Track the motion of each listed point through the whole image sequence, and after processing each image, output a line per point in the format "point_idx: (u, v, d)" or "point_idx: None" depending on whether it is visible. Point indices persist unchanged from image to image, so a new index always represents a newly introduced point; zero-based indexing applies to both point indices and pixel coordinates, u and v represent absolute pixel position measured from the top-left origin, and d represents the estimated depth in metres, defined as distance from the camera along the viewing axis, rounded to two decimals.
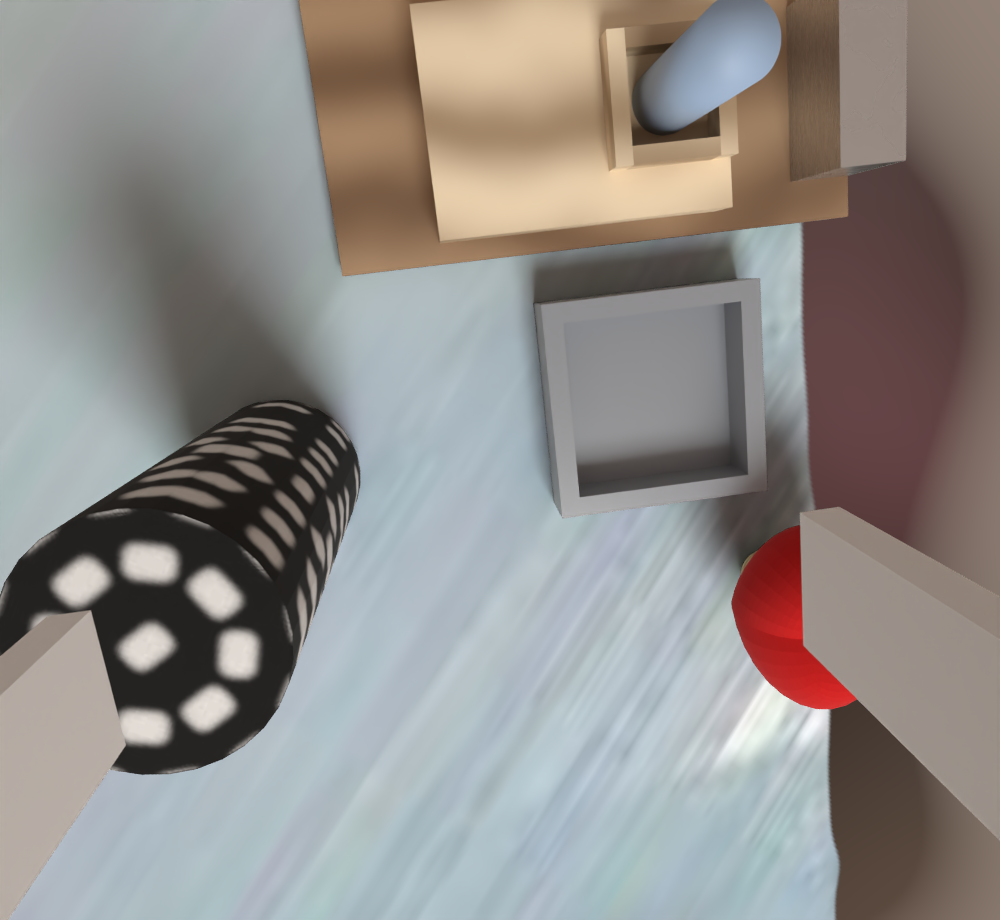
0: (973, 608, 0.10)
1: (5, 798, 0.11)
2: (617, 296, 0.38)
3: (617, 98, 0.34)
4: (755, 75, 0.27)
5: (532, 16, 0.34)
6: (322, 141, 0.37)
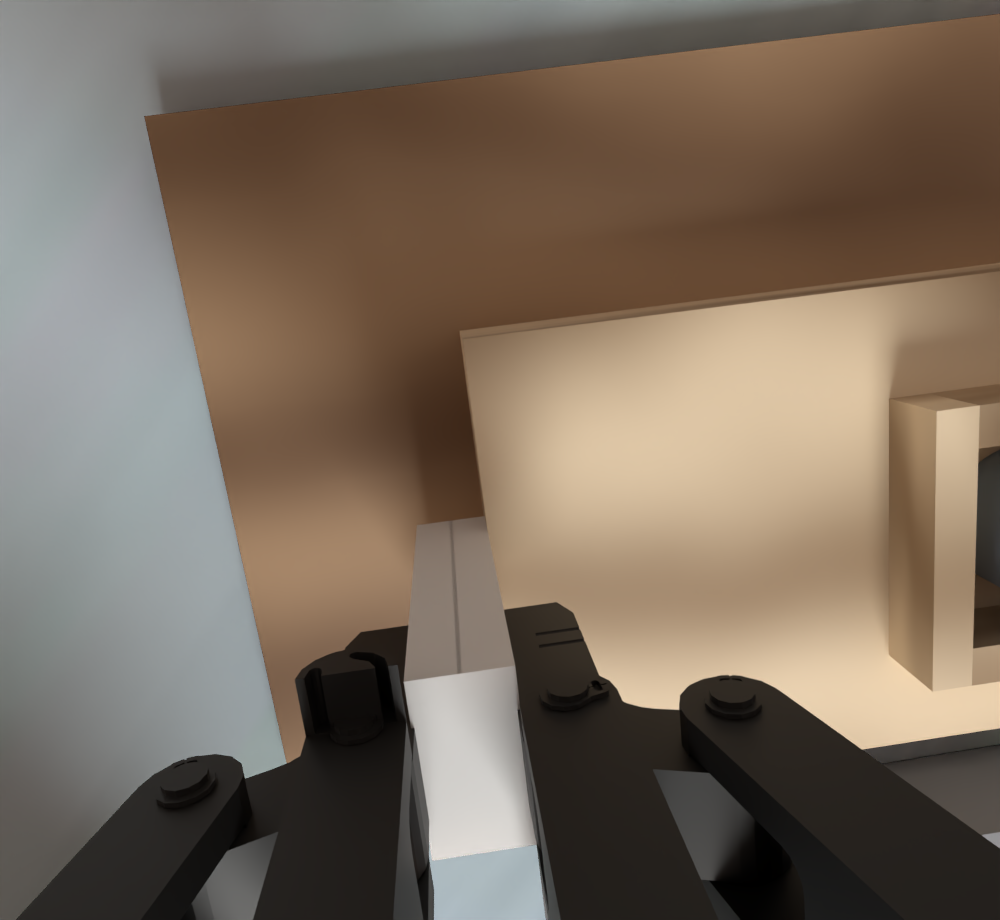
0: (468, 604, 0.12)
1: None
2: None
3: (950, 554, 0.14)
4: None
5: (745, 355, 0.15)
6: (246, 570, 0.18)
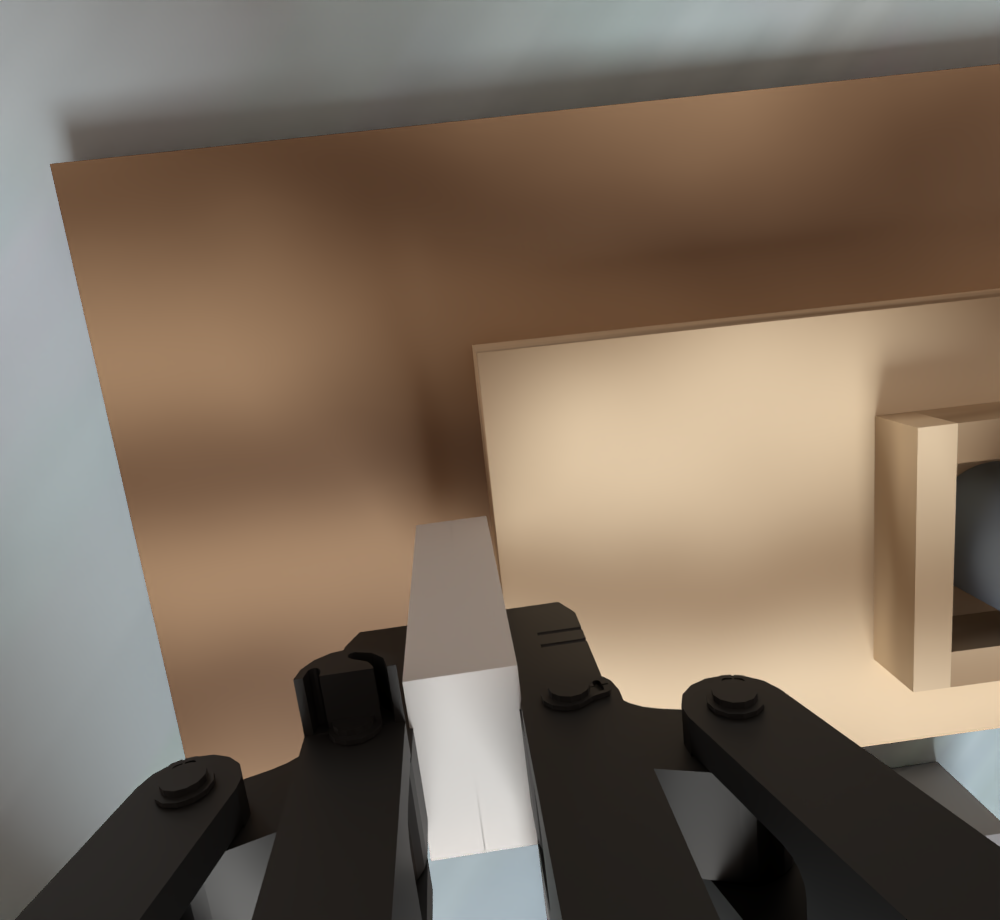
0: (470, 603, 0.12)
1: None
2: None
3: (930, 563, 0.15)
4: None
5: (740, 373, 0.16)
6: (149, 592, 0.18)
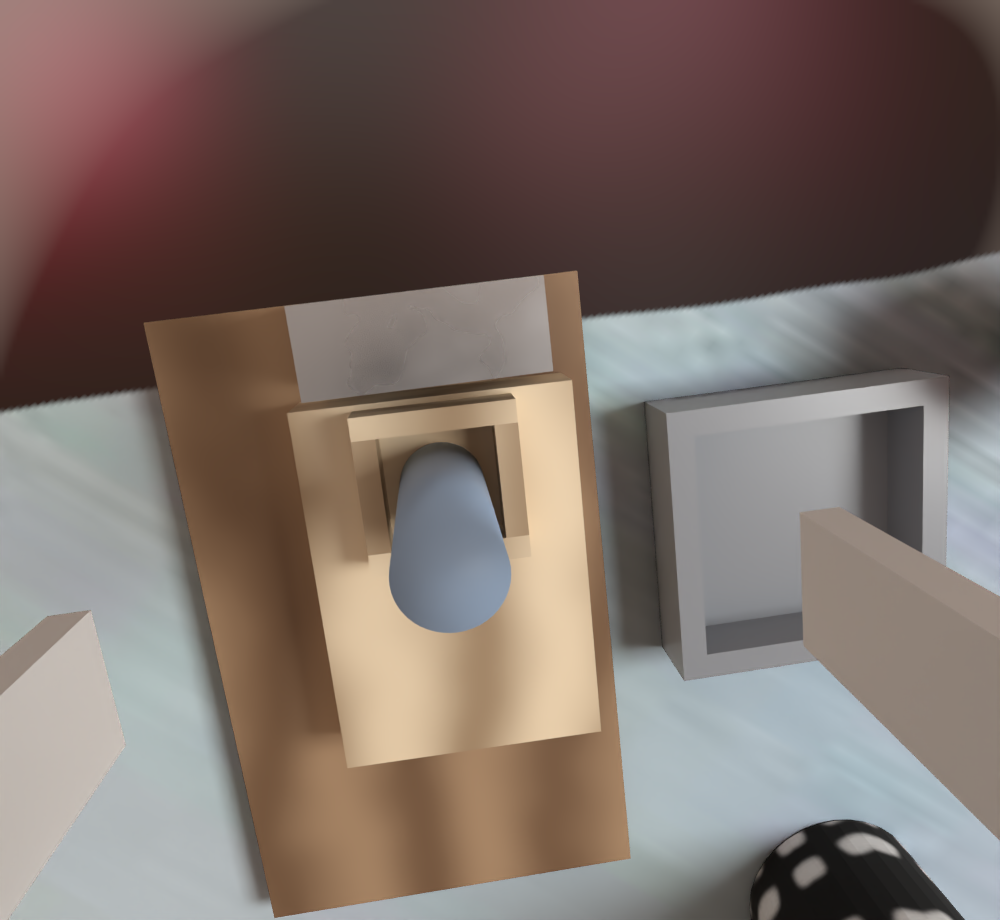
0: (973, 608, 0.10)
1: (5, 798, 0.11)
2: (679, 592, 0.30)
3: None
4: (495, 549, 0.19)
5: (352, 638, 0.29)
6: (492, 880, 0.34)
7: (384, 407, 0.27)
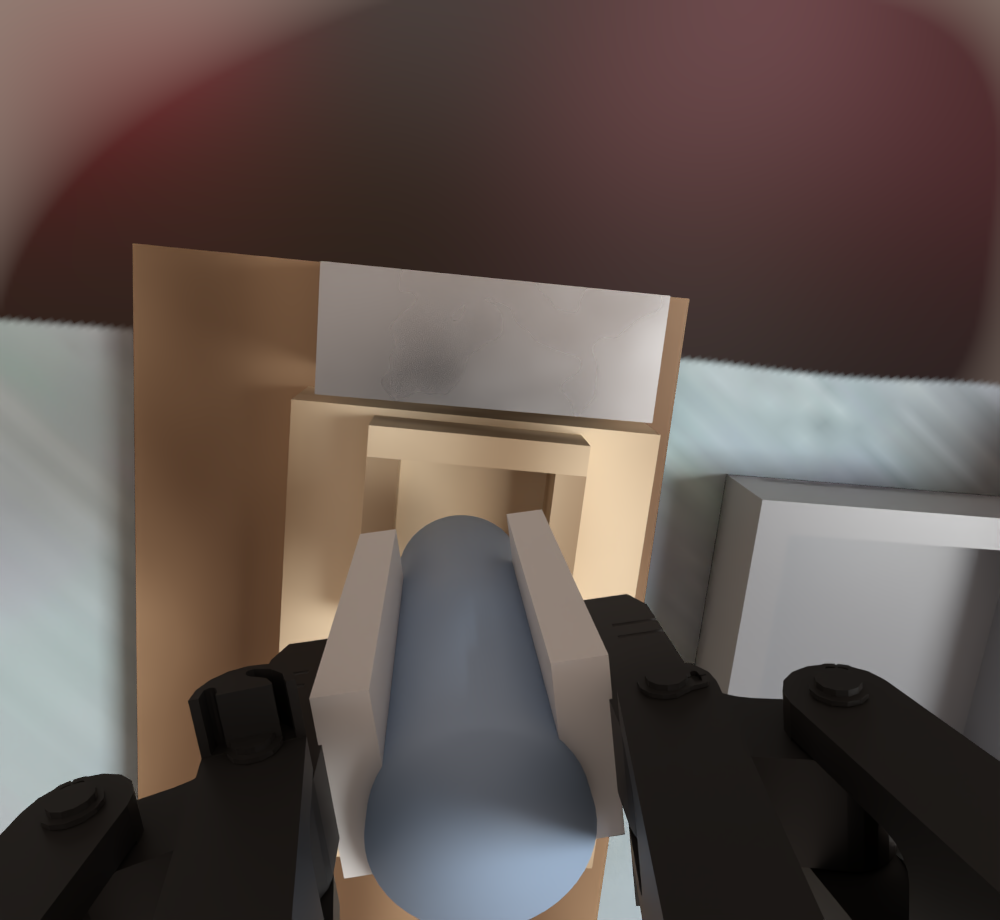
0: (546, 594, 0.12)
1: None
2: None
3: None
4: (569, 788, 0.10)
5: None
6: None
7: (417, 418, 0.21)
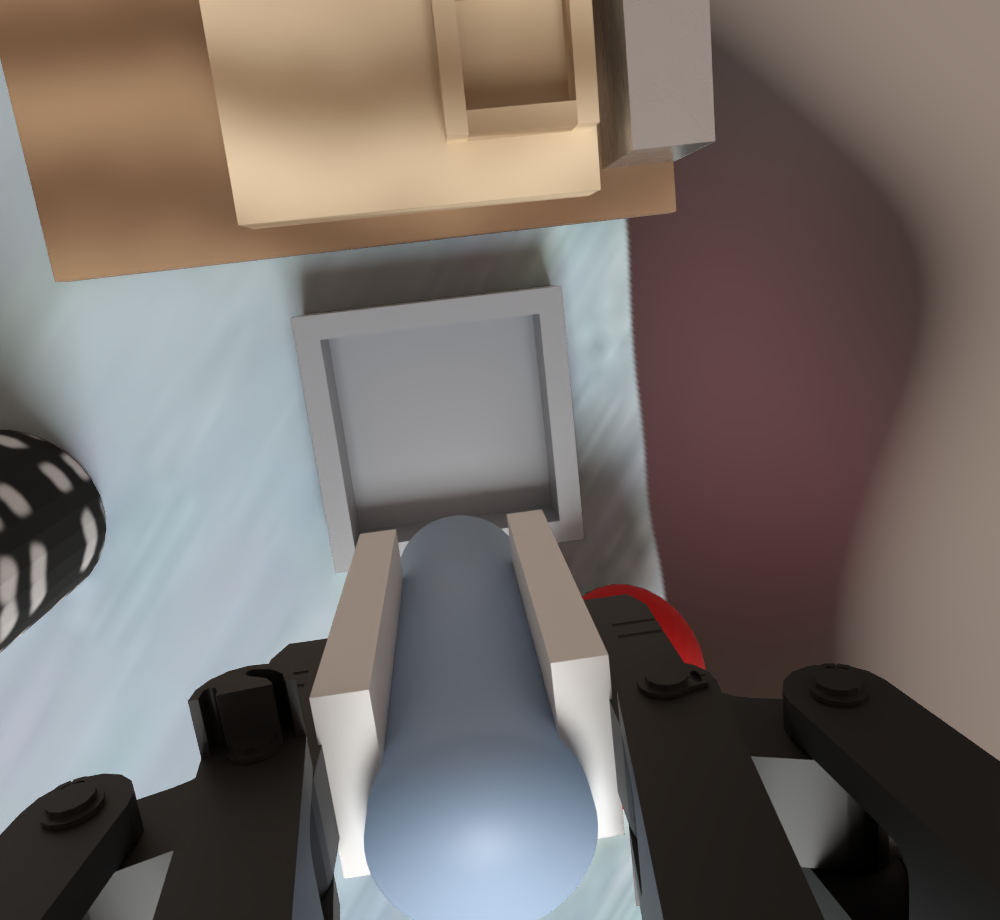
0: (546, 594, 0.12)
1: None
2: (385, 307, 0.31)
3: (445, 49, 0.27)
4: (571, 793, 0.10)
5: None
6: (16, 117, 0.30)
7: None
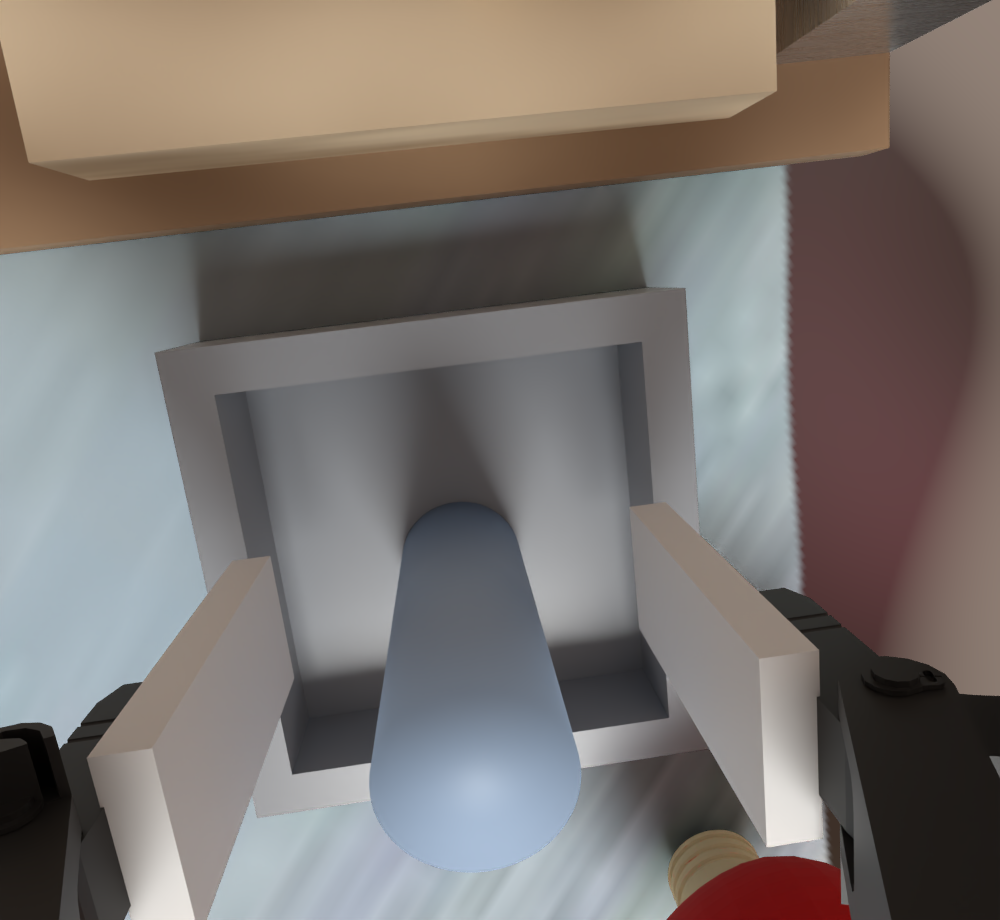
0: (716, 588, 0.11)
1: (240, 703, 0.12)
2: (343, 331, 0.16)
3: None
4: (559, 746, 0.11)
5: None
6: None
7: None
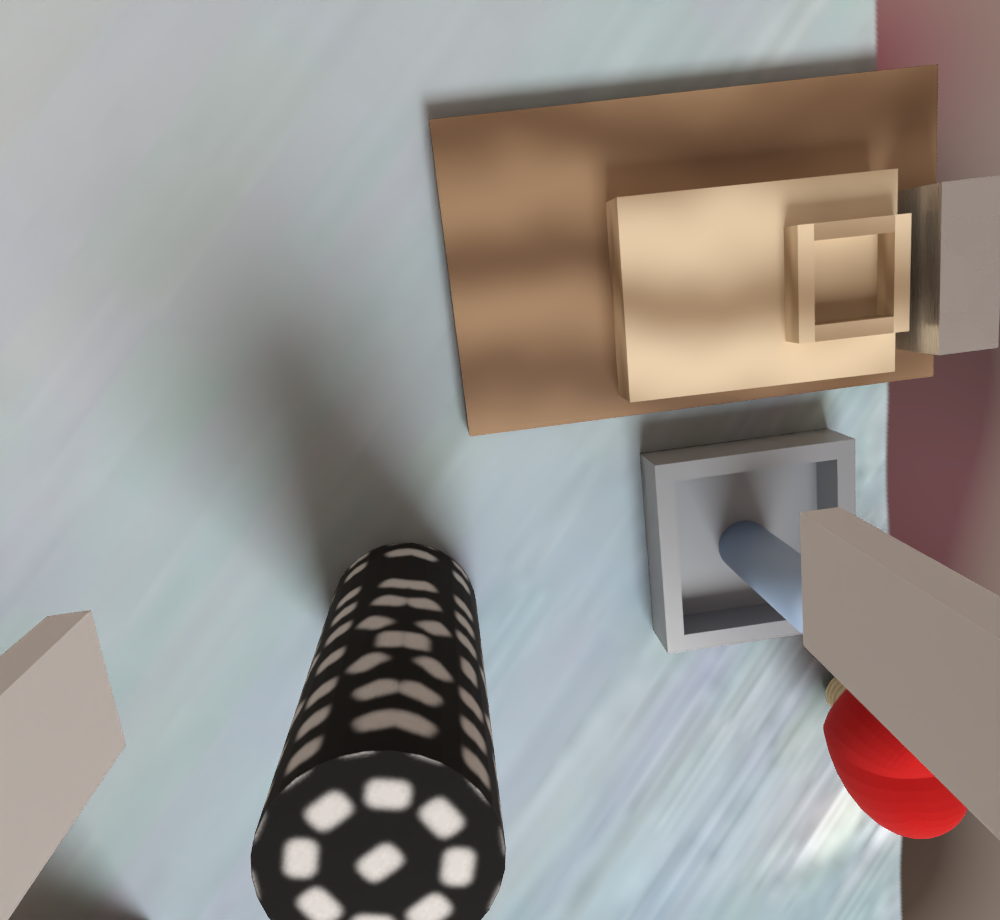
0: (973, 608, 0.10)
1: (5, 798, 0.11)
2: (724, 456, 0.41)
3: (804, 284, 0.37)
4: None
5: (726, 207, 0.37)
6: (455, 318, 0.40)
7: None
